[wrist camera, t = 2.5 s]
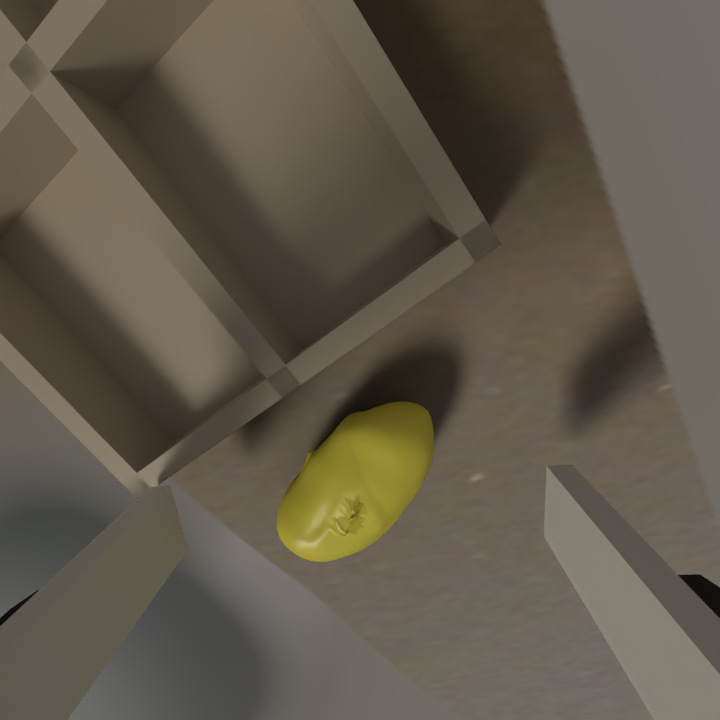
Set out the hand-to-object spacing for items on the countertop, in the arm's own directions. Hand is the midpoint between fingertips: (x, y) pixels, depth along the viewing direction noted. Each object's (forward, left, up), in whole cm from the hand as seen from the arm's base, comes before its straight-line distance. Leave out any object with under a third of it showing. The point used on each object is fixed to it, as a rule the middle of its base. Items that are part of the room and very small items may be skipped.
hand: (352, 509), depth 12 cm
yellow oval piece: (0, 0, -3) cm, 3 cm away
